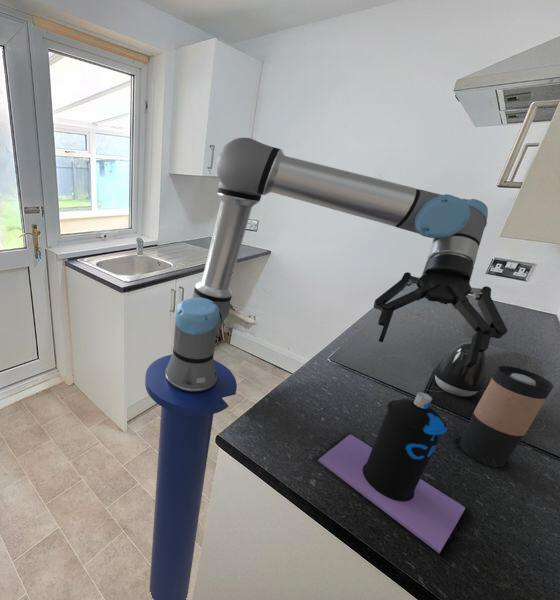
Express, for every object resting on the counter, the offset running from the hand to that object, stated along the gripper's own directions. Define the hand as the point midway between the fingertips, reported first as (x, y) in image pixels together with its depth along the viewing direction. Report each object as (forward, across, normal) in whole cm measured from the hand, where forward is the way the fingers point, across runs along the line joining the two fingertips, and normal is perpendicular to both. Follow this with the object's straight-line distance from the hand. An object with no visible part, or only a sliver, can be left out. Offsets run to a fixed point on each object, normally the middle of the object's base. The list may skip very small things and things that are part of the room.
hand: (422, 351), depth 60 cm
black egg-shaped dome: (-10, -13, -44) cm, 47 cm away
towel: (+25, -1, -9) cm, 26 cm away
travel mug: (+8, -17, -25) cm, 31 cm away
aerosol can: (+25, -1, -8) cm, 26 cm away
